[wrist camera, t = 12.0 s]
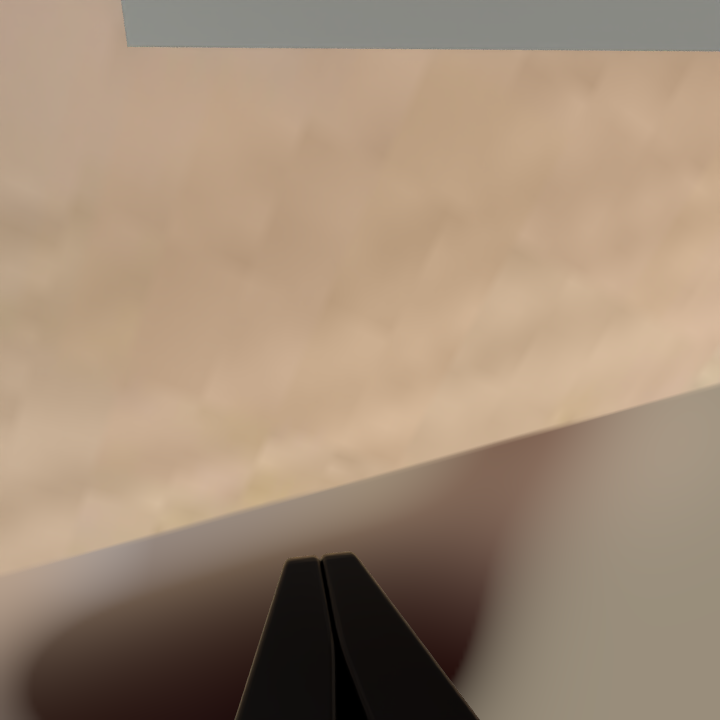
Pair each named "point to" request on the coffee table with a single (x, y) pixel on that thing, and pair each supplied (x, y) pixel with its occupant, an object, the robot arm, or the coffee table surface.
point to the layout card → (426, 24)
